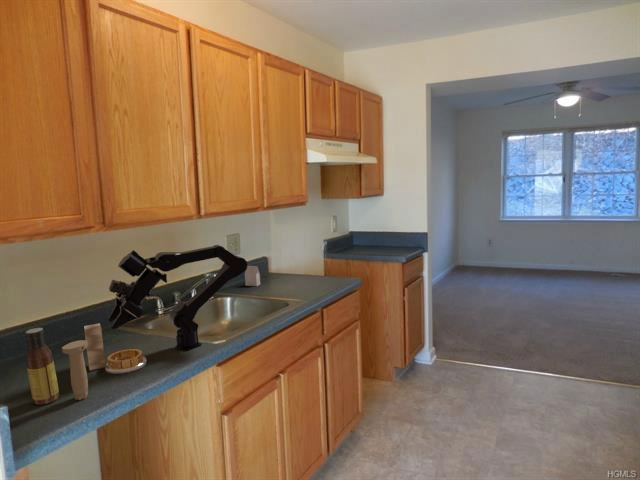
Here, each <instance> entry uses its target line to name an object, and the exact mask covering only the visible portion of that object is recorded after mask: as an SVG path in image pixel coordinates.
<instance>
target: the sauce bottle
mask: <svg viewBox="0 0 640 480" xmlns="http://www.w3.org/2000/svg"><path fill="white" fill-rule="evenodd" d="M24 333H25V338H26V340H27V347H28V349H27V353H26V355H25V366H26V370H27V376H28V383H29V386H30V392H31V397H32V399H33V403H34V404H35V405H40V406H43V405H46V404H51V403H53V402H55V401H57V400H58V399H59V397H60V393H59V390H60V389H59V385H58V378H57V373H56V368H55V361H54V359H53V354H52V350H51V349H50V347H49V346H47V344H46V342H45V336H44V334H45V332H44V328H43V327H36V328H30V329H28V330H26V331H25V332H24Z"/></svg>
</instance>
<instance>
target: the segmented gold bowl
mask: <svg viewBox="0 0 640 480" xmlns="http://www.w3.org/2000/svg"><path fill="white" fill-rule="evenodd" d="M147 362H148V361H147V358H146V357H145V356H144V355H143V351H142V350H141V349H137V348H132V349H131V348H129V349H123V350H118V351H115V352H113V353H111V354H110V355H109V356H107V363H105V367H104V370H105V372H106V373H108V374H111V375H122V374H128V373H132V372H135V371H138V370H140V369H143V367H145V366H146V365H147Z"/></svg>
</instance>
